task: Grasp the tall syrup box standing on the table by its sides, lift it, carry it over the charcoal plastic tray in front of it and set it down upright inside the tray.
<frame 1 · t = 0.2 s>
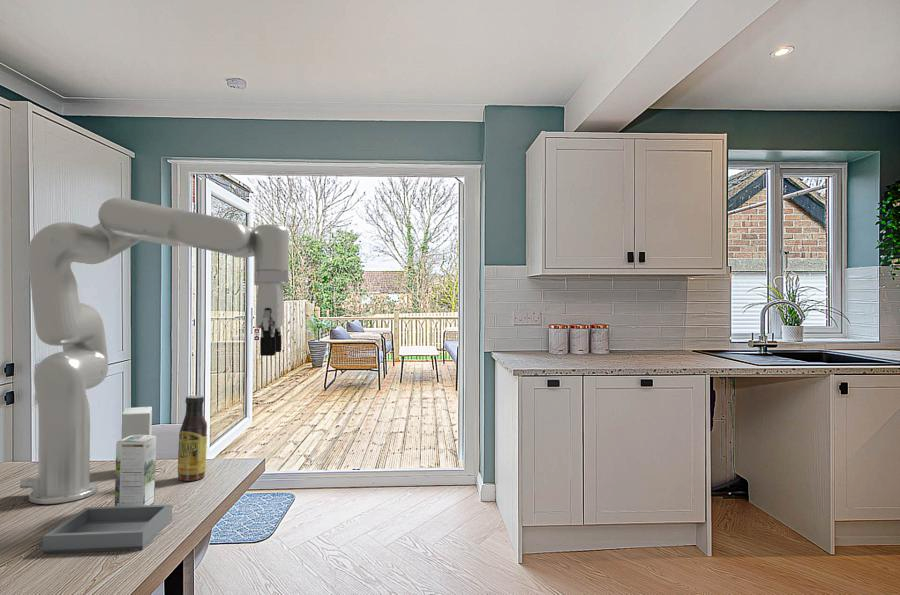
hand: (271, 353, 134), 31 cm above the table, fingers open, 9 cm apart
syrup box: (135, 508, 121), on the table
tray: (112, 535, 107), on the table
skincare box: (136, 472, 148), on the table
sauce bottle: (192, 479, 142), on the table
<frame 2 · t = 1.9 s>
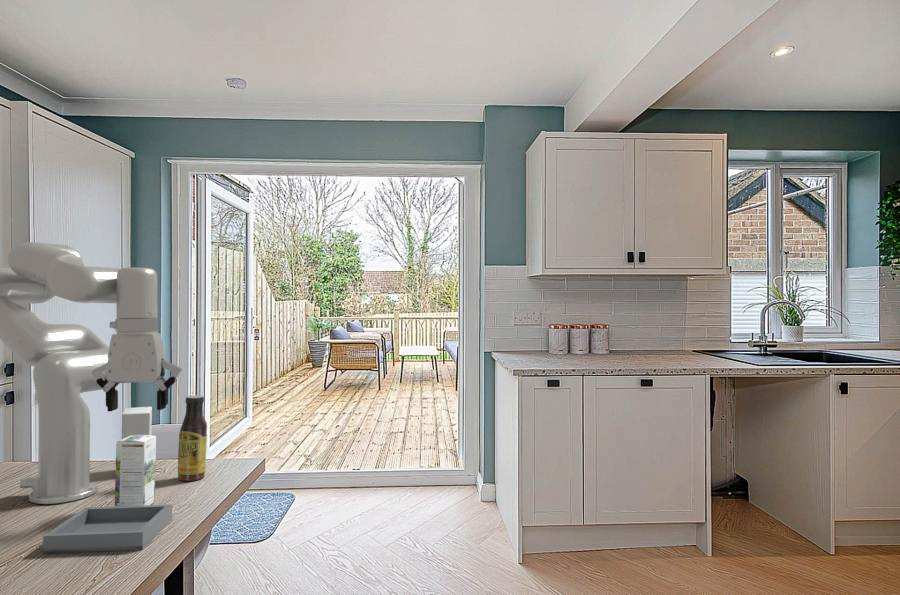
hand: (137, 409, 122), 20 cm above the table, fingers open, 9 cm apart
nothing on the table moved.
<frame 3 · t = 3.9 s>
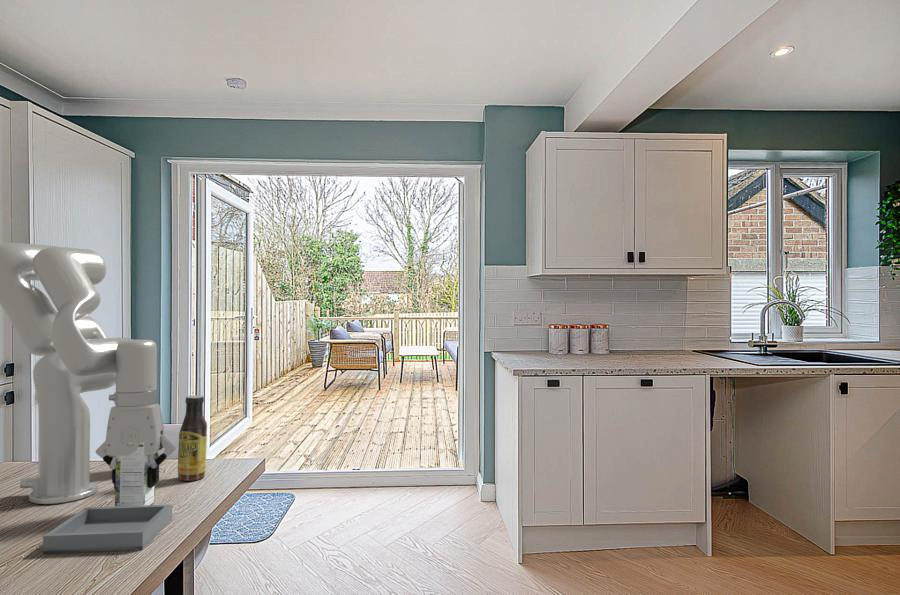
hand: (135, 485, 121), 5 cm above the table, fingers closed on syrup box, 5 cm apart
syrup box: (135, 508, 121), on the table, touching gripper
everything else where it was.
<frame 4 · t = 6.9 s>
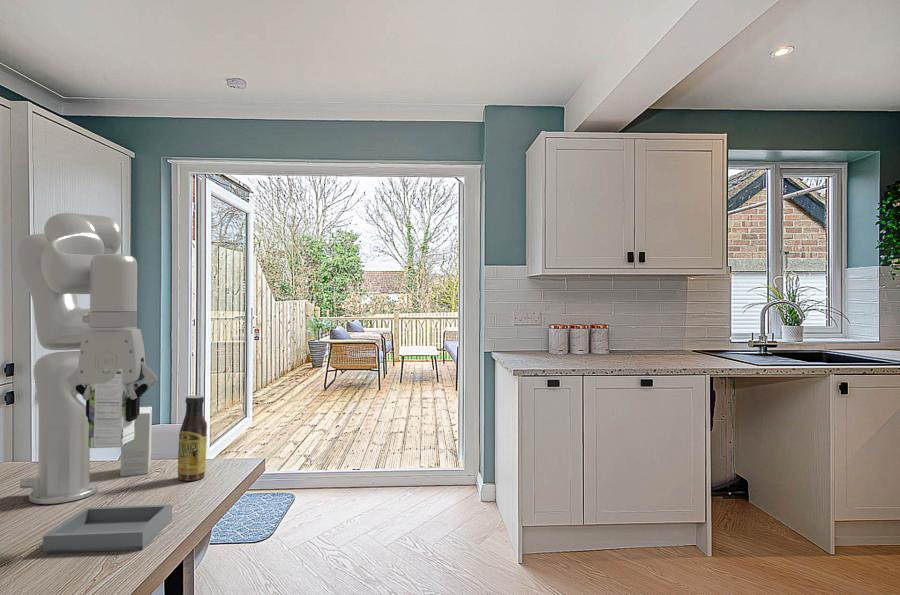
hand: (113, 419, 107), 21 cm above the table, fingers closed on syrup box, 5 cm apart
syrup box: (112, 445, 107), point 16 cm above the table, touching gripper
everything else where it was.
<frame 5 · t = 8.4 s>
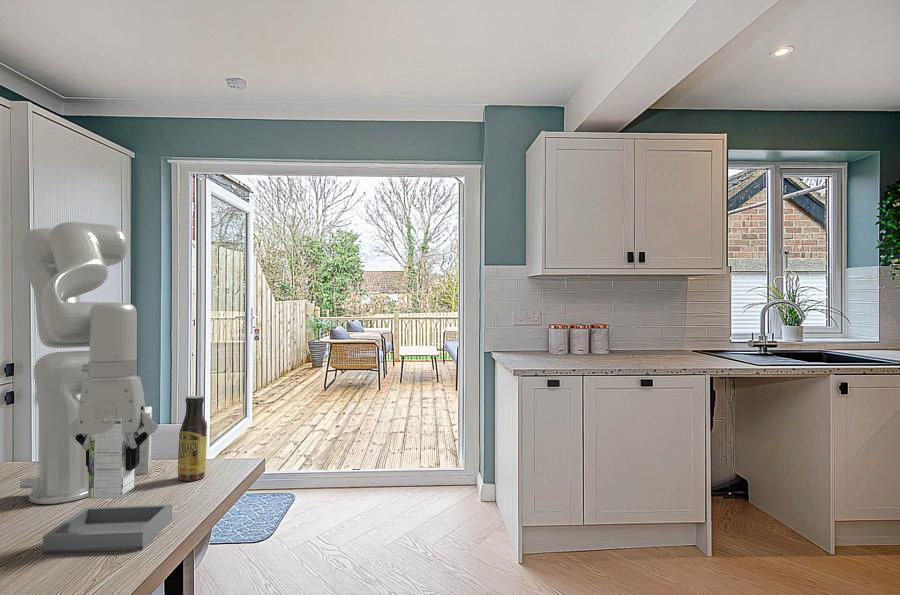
hand: (113, 468, 107), 12 cm above the table, fingers closed on syrup box, 5 cm apart
syrup box: (113, 494, 107), point 7 cm above the table, touching gripper
everything else where it was.
when the fingers open (7 cm above the table, at t = 9.9 s): syrup box drops 1 cm, resting on tray.
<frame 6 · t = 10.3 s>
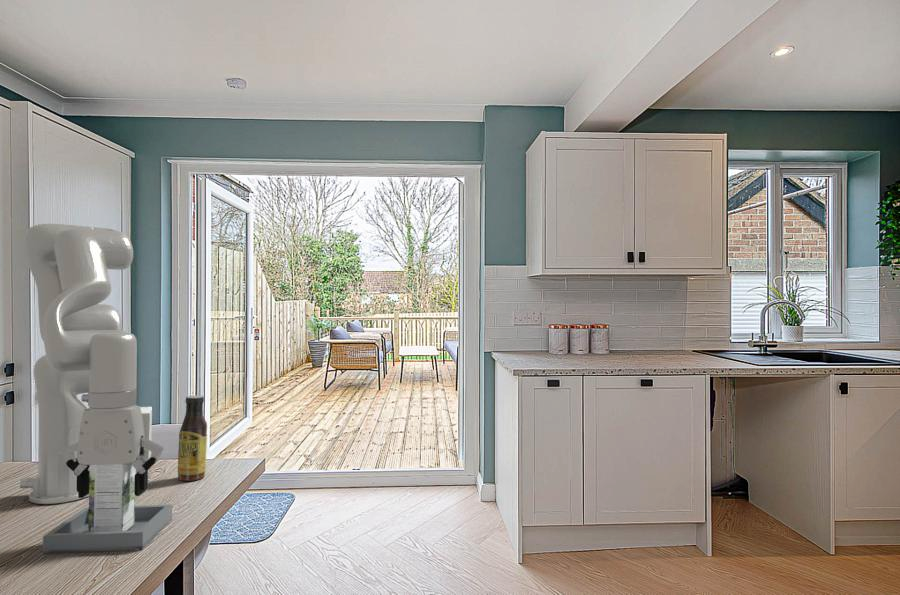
hand: (112, 494, 107), 7 cm above the table, fingers open, 9 cm apart
syrup box: (112, 532, 107), resting on tray
everything else where it was.
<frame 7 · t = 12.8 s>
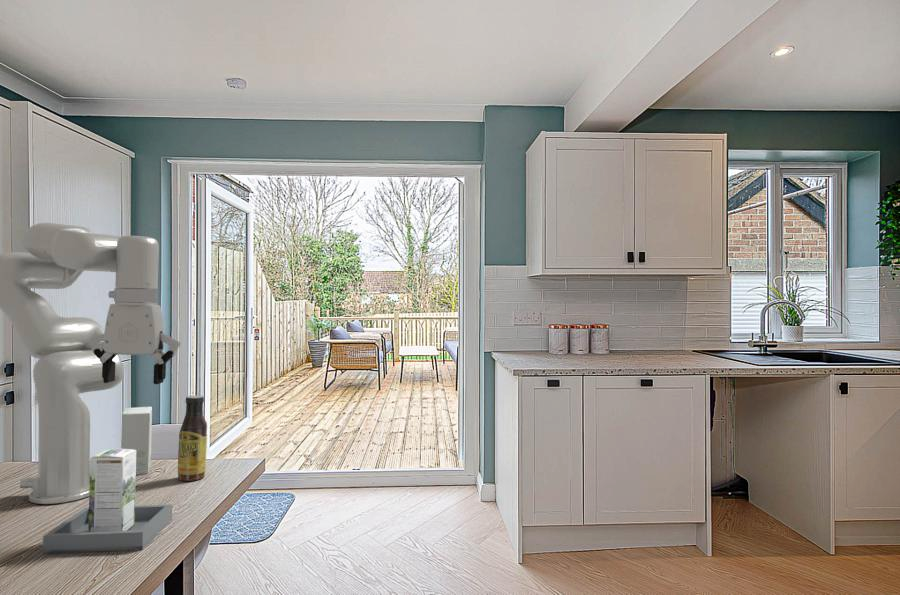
hand: (133, 382, 118), 26 cm above the table, fingers open, 9 cm apart
nothing on the table moved.
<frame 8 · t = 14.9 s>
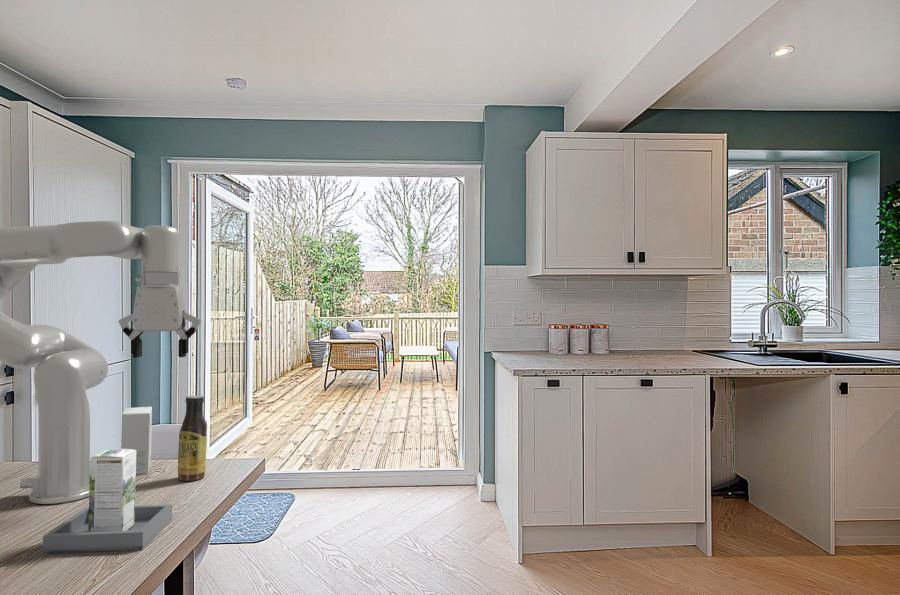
hand: (160, 357, 132), 30 cm above the table, fingers open, 9 cm apart
nothing on the table moved.
at the end: syrup box inside the target area on the tray (0.2 cm from its centre), point 0.4 cm above the tray's base; syrup box tilted 0°; the gripper is holding nothing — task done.
